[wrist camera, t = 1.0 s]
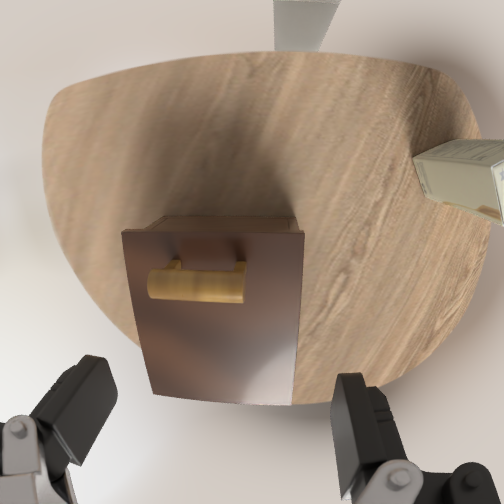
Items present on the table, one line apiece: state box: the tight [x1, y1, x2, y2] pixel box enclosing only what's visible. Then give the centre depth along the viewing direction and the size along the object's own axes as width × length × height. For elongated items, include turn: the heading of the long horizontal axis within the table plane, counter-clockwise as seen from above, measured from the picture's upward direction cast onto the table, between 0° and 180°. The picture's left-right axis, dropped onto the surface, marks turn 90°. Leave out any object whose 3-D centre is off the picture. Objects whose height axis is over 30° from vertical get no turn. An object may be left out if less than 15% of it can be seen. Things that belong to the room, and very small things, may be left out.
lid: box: [121, 229, 305, 405], centre depth 21 cm, size 15×13×5 cm
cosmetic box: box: [412, 139, 504, 227], centre depth 19 cm, size 6×4×12 cm
